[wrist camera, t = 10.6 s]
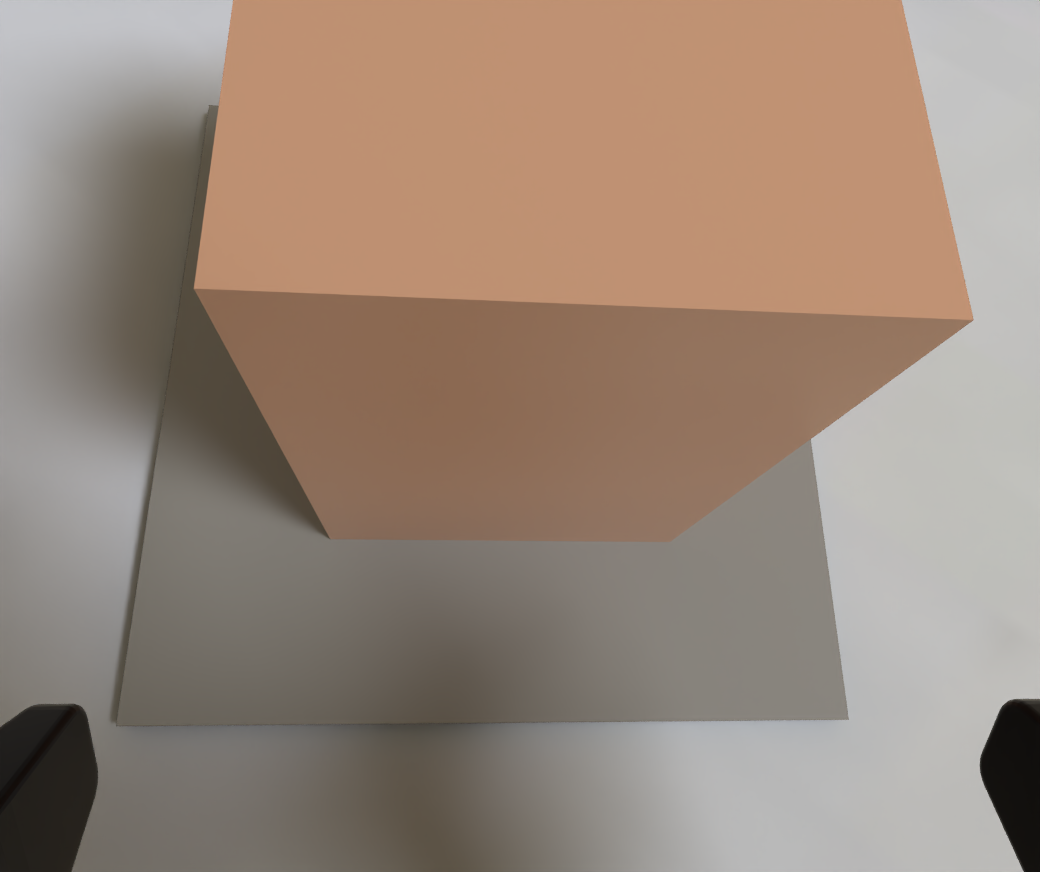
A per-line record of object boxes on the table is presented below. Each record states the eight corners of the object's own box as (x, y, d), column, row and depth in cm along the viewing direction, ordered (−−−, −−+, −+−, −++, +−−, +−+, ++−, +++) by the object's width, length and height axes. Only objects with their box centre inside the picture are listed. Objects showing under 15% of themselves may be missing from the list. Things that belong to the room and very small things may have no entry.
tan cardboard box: (669, 542, 17) (974, 319, 7) (330, 539, 16) (193, 288, 7) (647, 252, 19) (857, -193, 10) (349, 239, 18) (269, -260, 9)
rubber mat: (839, 719, 16) (848, 719, 16) (123, 725, 15) (116, 725, 15) (764, 154, 21) (770, 143, 21) (213, 116, 20) (208, 105, 19)
